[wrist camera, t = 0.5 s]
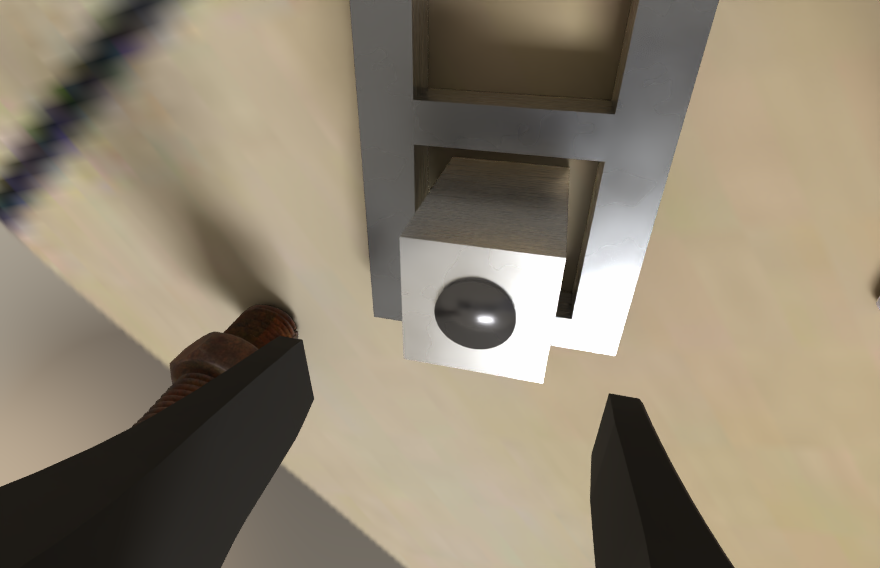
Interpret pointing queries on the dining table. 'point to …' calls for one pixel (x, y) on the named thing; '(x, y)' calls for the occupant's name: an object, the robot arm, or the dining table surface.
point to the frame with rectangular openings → (530, 146)
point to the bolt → (223, 352)
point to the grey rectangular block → (486, 267)
